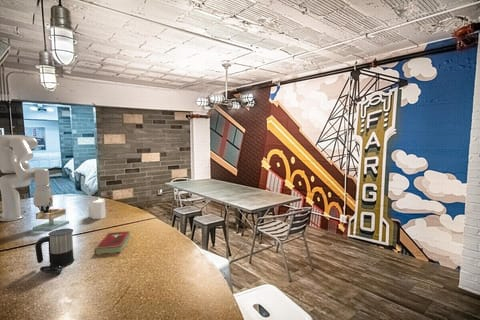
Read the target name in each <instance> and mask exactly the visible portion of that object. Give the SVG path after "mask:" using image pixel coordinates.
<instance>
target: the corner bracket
mask: <svg viewBox="0 0 480 320" xmlns="http://www.w3.org/2000/svg"><path fill="white" fill-rule="evenodd" d="M106 217H107V214H106V200H105V198H99V199H97V200H94V201H92V202H91V204H90V205H89V206H88V218H92V220H101V219H103V218H106Z"/></svg>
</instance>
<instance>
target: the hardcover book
mask: <svg viewBox="0 0 480 320" xmlns="http://www.w3.org/2000/svg"><path fill="white" fill-rule="evenodd" d="M130 233H131V231H130V230H128V231H117V232H116V231H113V232H108V233H107V234H106V235H105V237H104V238H102V240H101V241H100V242H99V244H97V246H96V247H95V248H94V255H95V254H98V255H101V254H100V253H110V254H117V253H116V252H120V253H121V252H122V251H123V250H124V248H125V246H126V244H127V243H128V241H129V240H130V238H131V236H130V235H131V234H130ZM121 250H122V251H121Z"/></svg>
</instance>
